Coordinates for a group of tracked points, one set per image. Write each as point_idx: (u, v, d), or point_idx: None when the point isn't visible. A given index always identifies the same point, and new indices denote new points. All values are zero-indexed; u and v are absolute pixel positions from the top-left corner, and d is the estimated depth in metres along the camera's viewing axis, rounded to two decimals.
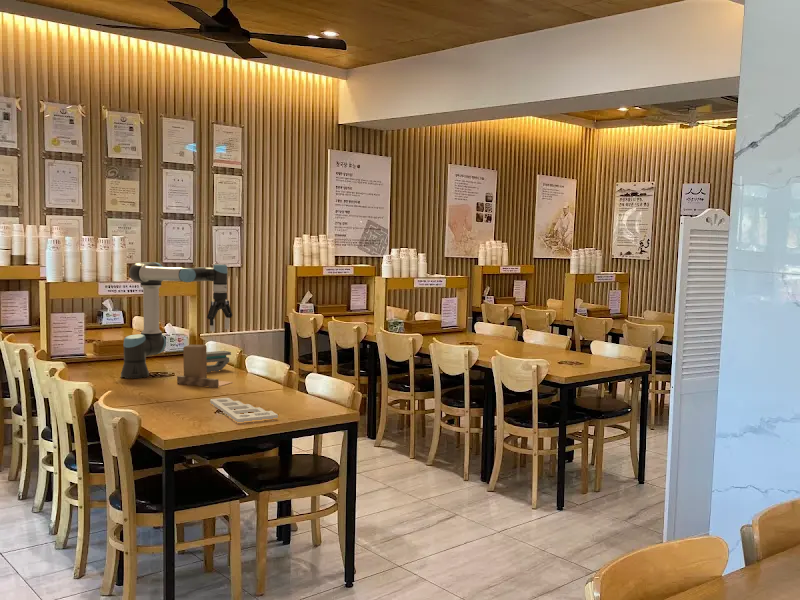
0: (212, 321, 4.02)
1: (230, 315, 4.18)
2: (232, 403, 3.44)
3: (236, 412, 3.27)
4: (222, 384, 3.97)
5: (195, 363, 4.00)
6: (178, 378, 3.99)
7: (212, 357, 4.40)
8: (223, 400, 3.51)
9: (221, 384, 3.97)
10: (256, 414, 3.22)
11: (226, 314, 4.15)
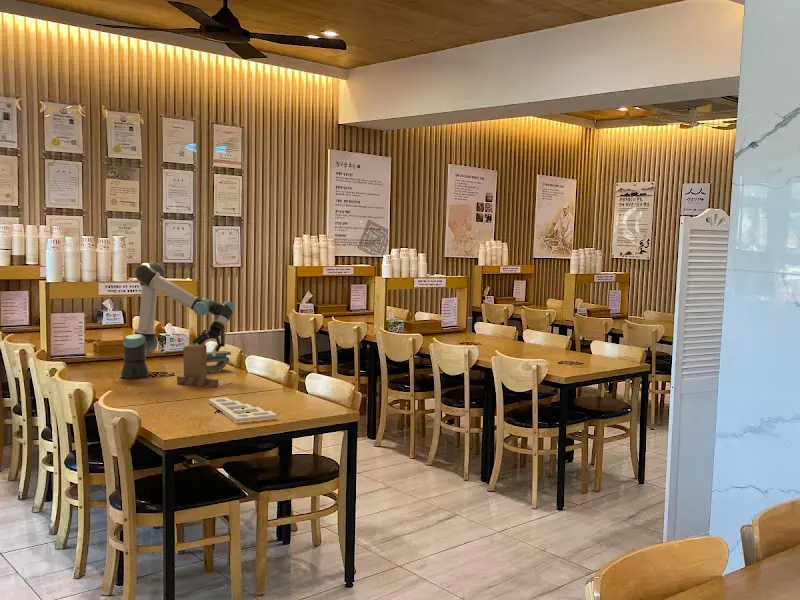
0: None
1: None
2: (231, 403, 3.45)
3: (235, 412, 3.28)
4: (222, 384, 3.97)
5: (195, 363, 4.00)
6: (178, 378, 3.99)
7: (212, 357, 4.40)
8: (222, 400, 3.51)
9: (221, 384, 3.97)
10: (255, 414, 3.23)
11: (200, 342, 4.17)
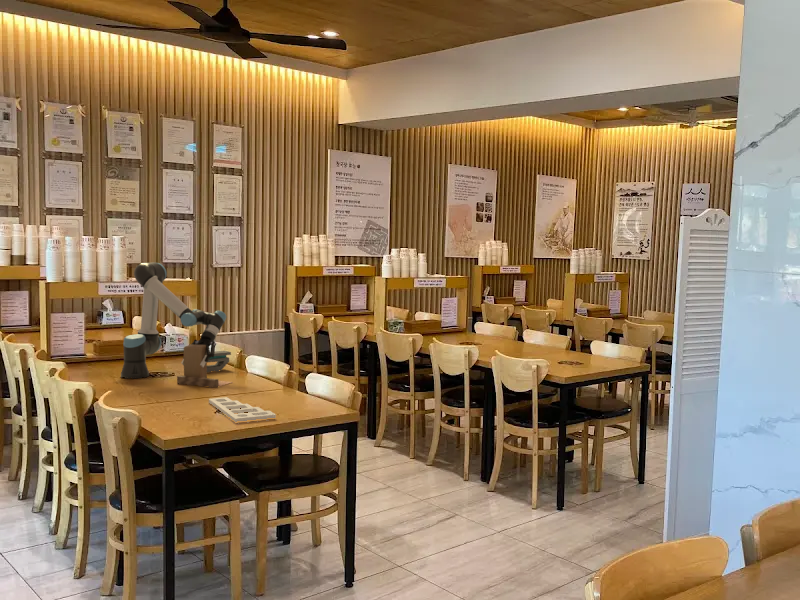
0: None
1: None
2: (230, 403, 3.45)
3: (234, 412, 3.28)
4: (222, 384, 3.97)
5: (195, 363, 4.00)
6: (178, 378, 3.99)
7: (212, 357, 4.40)
8: (222, 400, 3.52)
9: (221, 384, 3.97)
10: (254, 414, 3.23)
11: None
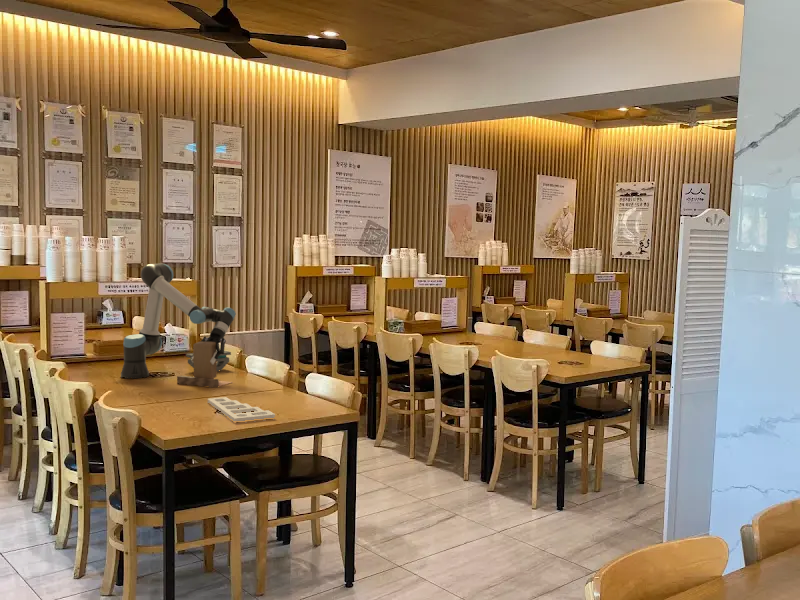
0: None
1: None
2: (230, 402, 3.46)
3: (233, 411, 3.28)
4: (222, 384, 3.97)
5: (205, 360, 3.98)
6: (178, 378, 3.99)
7: None
8: (221, 399, 3.52)
9: (221, 384, 3.97)
10: (253, 413, 3.23)
11: None
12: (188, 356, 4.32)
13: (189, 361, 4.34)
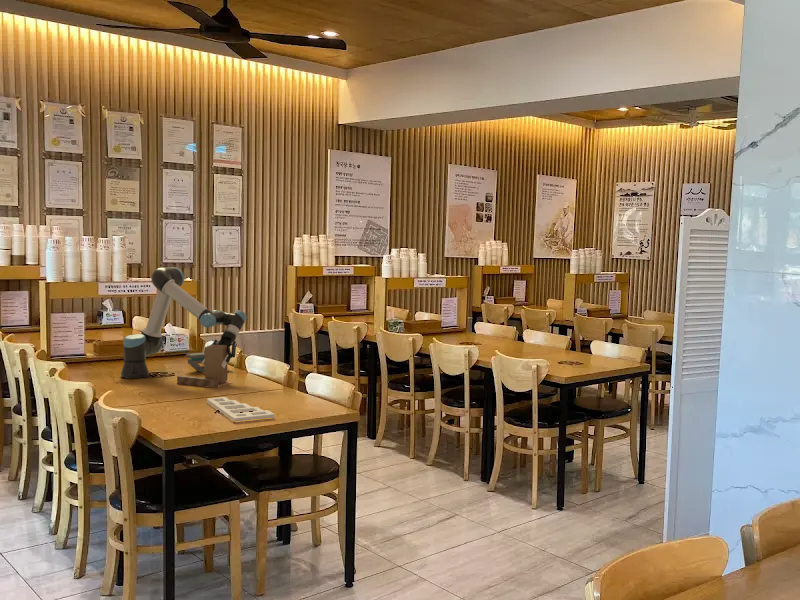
0: None
1: None
2: (229, 402, 3.46)
3: (233, 411, 3.28)
4: (222, 384, 3.97)
5: (217, 363, 3.95)
6: (178, 378, 3.99)
7: None
8: (220, 399, 3.52)
9: (221, 384, 3.97)
10: (253, 413, 3.24)
11: None
12: (188, 356, 4.32)
13: (189, 361, 4.34)
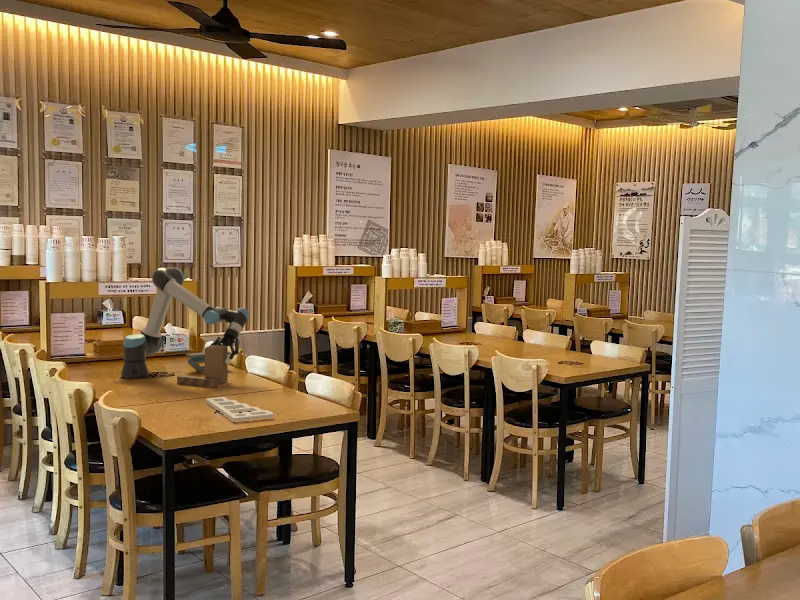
0: None
1: None
2: (228, 402, 3.46)
3: (232, 411, 3.29)
4: (222, 384, 3.97)
5: (216, 364, 3.95)
6: (178, 378, 3.99)
7: None
8: (219, 399, 3.52)
9: (221, 384, 3.97)
10: (252, 413, 3.24)
11: None
12: (188, 356, 4.32)
13: (189, 361, 4.34)
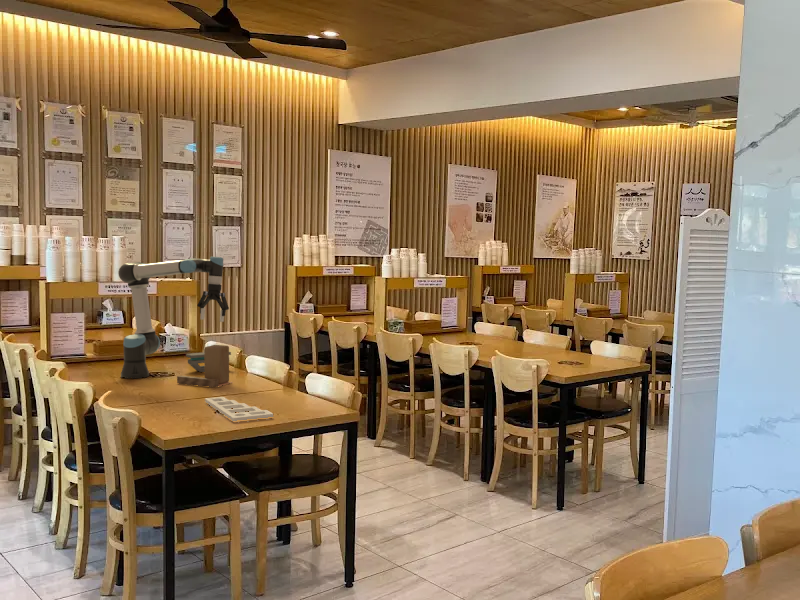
0: None
1: None
2: (227, 402, 3.46)
3: (231, 411, 3.29)
4: (222, 384, 3.97)
5: (215, 364, 3.96)
6: (178, 378, 3.99)
7: None
8: (218, 399, 3.53)
9: (221, 384, 3.97)
10: (251, 413, 3.24)
11: (204, 305, 4.24)
12: (188, 356, 4.32)
13: (189, 361, 4.34)
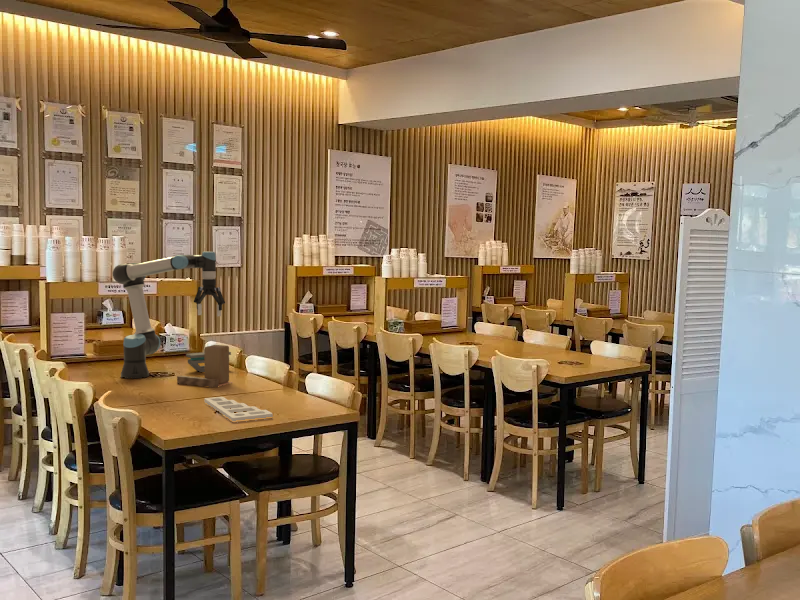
0: None
1: None
2: (226, 402, 3.46)
3: (231, 411, 3.29)
4: (222, 384, 3.97)
5: (215, 364, 3.96)
6: (178, 378, 3.99)
7: None
8: (217, 399, 3.53)
9: (221, 384, 3.97)
10: (251, 413, 3.24)
11: (201, 300, 4.25)
12: (188, 356, 4.32)
13: (189, 361, 4.34)
